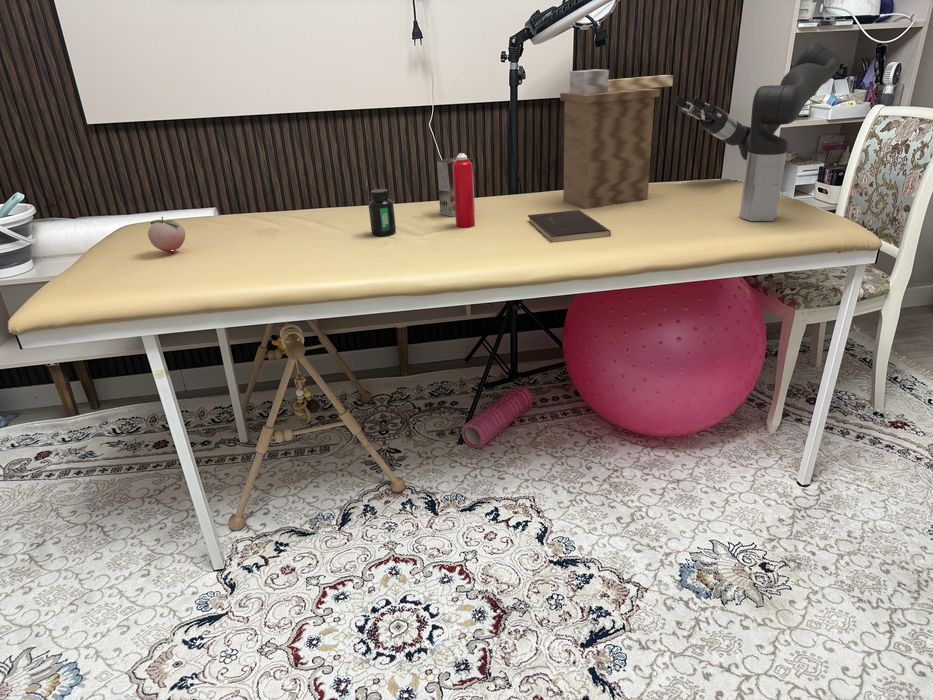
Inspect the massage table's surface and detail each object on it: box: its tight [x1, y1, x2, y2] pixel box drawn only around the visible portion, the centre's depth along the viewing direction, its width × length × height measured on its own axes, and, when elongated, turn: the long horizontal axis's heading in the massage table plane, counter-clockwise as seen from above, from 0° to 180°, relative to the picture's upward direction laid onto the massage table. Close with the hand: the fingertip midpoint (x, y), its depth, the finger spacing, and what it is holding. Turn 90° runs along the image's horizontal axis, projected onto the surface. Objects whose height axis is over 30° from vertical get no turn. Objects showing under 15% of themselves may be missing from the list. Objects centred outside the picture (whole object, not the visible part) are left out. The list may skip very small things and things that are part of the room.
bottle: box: [452, 152, 476, 229], centre depth 177 cm, size 5×5×20 cm
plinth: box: [559, 88, 661, 210], centre depth 193 cm, size 24×16×32 cm, turn 111°
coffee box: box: [436, 157, 476, 218], centre depth 192 cm, size 9×6×16 cm
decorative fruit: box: [147, 216, 186, 254], centre depth 169 cm, size 9×8×10 cm
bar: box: [569, 69, 674, 95], centre depth 186 cm, size 32×8×6 cm, turn 111°
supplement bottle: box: [368, 188, 397, 238], centre depth 175 cm, size 7×7×12 cm
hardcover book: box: [527, 209, 612, 243], centre depth 172 cm, size 16×23×2 cm
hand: (684, 99), depth 196 cm, fingers open, 8 cm apart
